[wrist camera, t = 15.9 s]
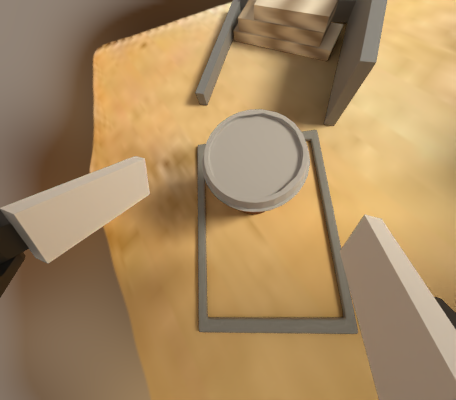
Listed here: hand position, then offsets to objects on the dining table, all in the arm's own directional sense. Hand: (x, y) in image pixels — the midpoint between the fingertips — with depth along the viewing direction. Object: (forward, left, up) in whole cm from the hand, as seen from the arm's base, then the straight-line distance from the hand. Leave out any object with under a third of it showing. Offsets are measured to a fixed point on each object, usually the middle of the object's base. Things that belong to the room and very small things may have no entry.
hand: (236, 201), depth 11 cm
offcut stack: (+3, -36, -16) cm, 39 cm away
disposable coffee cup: (0, -5, -15) cm, 16 cm away
